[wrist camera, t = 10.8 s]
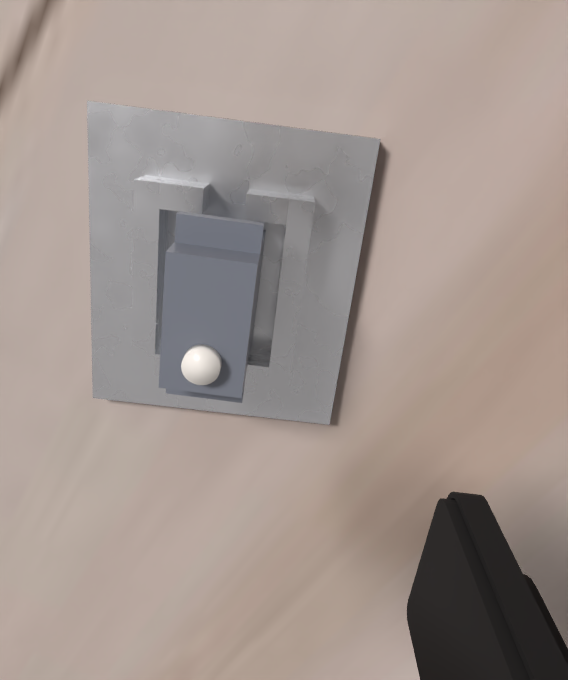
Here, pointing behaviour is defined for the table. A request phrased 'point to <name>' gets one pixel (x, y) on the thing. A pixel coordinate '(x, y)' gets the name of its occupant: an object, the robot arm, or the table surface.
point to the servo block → (210, 305)
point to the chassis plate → (237, 203)
